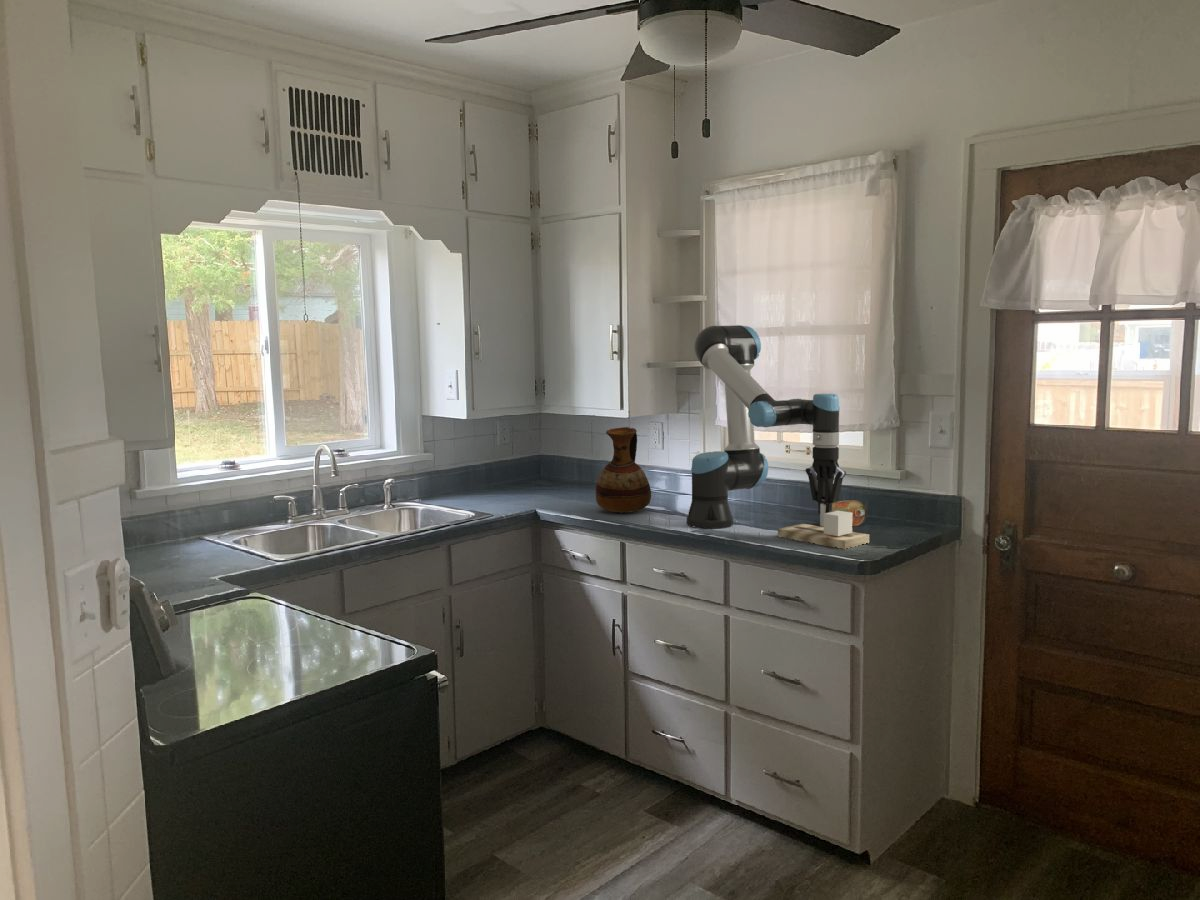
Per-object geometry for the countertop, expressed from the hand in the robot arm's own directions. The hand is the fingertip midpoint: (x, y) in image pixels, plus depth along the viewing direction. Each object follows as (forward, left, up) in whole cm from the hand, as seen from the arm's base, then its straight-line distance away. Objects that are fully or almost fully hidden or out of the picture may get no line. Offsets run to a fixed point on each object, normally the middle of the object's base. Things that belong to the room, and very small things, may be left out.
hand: (824, 525), depth 274 cm
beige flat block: (-1, 0, -5) cm, 5 cm away
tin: (-9, +22, -5) cm, 24 cm away
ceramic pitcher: (-80, -9, -5) cm, 80 cm away
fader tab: (+5, 0, -2) cm, 5 cm away
